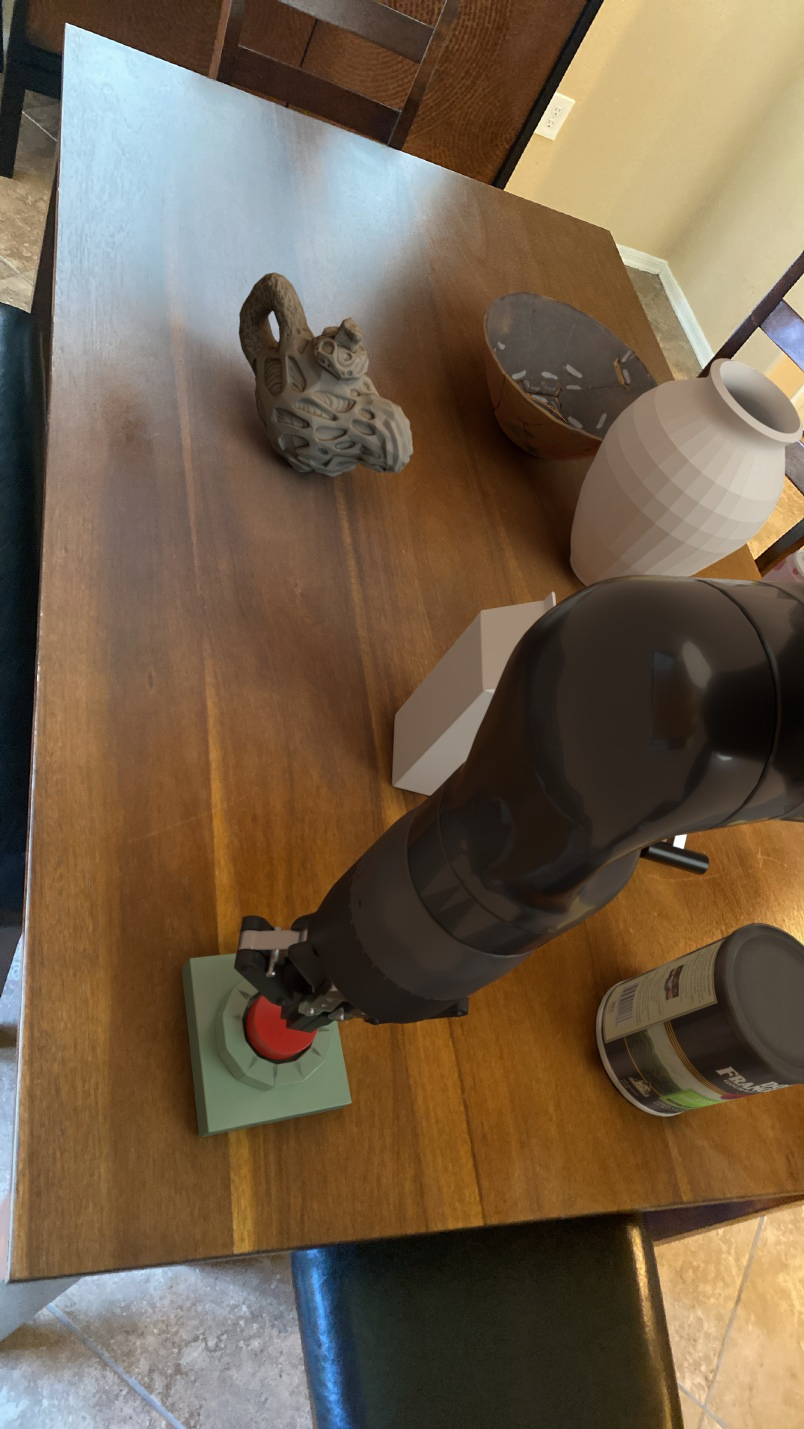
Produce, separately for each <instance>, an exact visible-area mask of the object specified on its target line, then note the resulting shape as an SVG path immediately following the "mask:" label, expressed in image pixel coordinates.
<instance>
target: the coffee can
mask: <svg viewBox="0 0 804 1429" xmlns="http://www.w3.org/2000/svg"><path fill="white" fill-rule="evenodd" d="M595 1037H596V1045H597V1046H596V1047H597V1048H598V1053H599V1055H600V1060H601V1062H602V1064H603V1067H604V1069H605V1071H606V1073H607V1075H608V1077H609V1079H610V1080H611V1082H612V1083H613V1086H615V1087H616V1089H617V1090H618V1092H619V1093H620V1094H621V1095H622V1096H623V1097H624V1098H625V1099H626V1100H627V1101H629V1103H631V1104H632V1105H634V1106H635V1107H636V1108H638V1109H639V1110H642V1111H643V1112H645V1113H647V1114H650V1115H654V1116H658V1117H673V1116H676V1115H679V1114H681V1113H683V1112H689V1111H693V1110H697V1109H700V1108H704V1107H709V1106H713V1105H717V1104H721V1103H725V1102H726V1103H727V1102H728V1101H734V1100H737V1099H742V1098H746V1097H751V1096H755V1095H758V1094H762V1093H768V1092H772V1091H775V1090H780V1089H784V1088H788V1087H792V1086H796V1085H804V944H803V943H802V942H801V941H800V940H798V939H797V938H796V937H795V936H793V935H792V934H790V932H787V931H786V930H784V929H782V928H780V927H778V926H775V925H773V924H768V923H764V922H752V923H748V924H745V925H743V926H740V927H739V928H736V929H734V930H733V931H732V932H730V934H728V935H726V936H724V937H721V938H719V939H717V940H714V941H712V942H710V943H707V944H705V945H703V946H701V947H698V948H697V949H694V950H692V951H690V952H687V953H685V954H682V955H680V956H679V957H676V958H674V959H671V960H669V961H667V962H665V963H662V964H660V965H659V966H656V967H653V968H652V969H648V970H647V971H645V972H642V973H640V974H637V975H636V976H633V977H631V978H627V979H625V980H622V981H619V982H617V983H616V984H614V985H613V986H612V987H610V988H609V989H608V990H607V991H606V993H605V994H604V995H603V996H602V999H601V1002H600V1004H599V1006H598V1009H597V1014H596V1020H595Z"/></svg>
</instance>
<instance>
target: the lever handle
mask: <svg viewBox="0 0 804 1429" xmlns="http://www.w3.org/2000/svg"><path fill="white" fill-rule="evenodd" d="M687 837H688V834H686V835H679V836H674V837H671V838H668V839H667V840H666V842H664V841H660V842H657V843H655V844H652V845H650V846H647V847H645V848H643V849H641V853H640V856H639V859H643V860H646V861H649V862H653V863H656V864H661V865H663V866H666V867H670V868H673V869H678V870H681V871H684V872H686V873H689V874H694V875H697V876H702V875H705V873H706V872H707V871H708V870H709V867H710V859H709V857H708V855H707V854H706V853H704V852H700V851H696V850H694V849H691V848H687V847H685V845H686V840H687Z"/></svg>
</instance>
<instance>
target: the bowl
mask: <svg viewBox="0 0 804 1429" xmlns="http://www.w3.org/2000/svg"><path fill="white" fill-rule="evenodd" d="M481 329H482V341H483V342H482V344H483V349H484V350H483V351H484V360H485V368H486V379H487V385H488V391H489V394H490V400H491V403H492V406H493V407H492V408H493V412H494V416H495V418H496V421H497V423H498V424H499V427H500V428H501V431H502V432H503V433H504V434H505V435H506V437H507V438H508V439H509V440H510V441H511V442H512V443H513V444H515V445H516V446H517V447H518V448H520V449H521V450H523V451H524V452H526V453H528V454H530V455H532V456H534V457H537V458H539V459H541V460H545V461H550V462H561V463H564V462H565V463H566V462H574V461H580V460H584V459H590V458H595V456H596V454H597V452H598V450H599V448H600V446H601V444H602V442H603V440H604V438H605V436H606V434H607V432H608V430H609V428H610V426H611V425H612V424H613V423H614V421H615V420H616V419H617V418H618V416H619V415H620V414H621V413H622V412H623V411H624V410H625V409H626V408H627V407H628V406H629V405H631V404H632V403H633V402H634V401H635V400H636V399H637V398H639V397H640V396H641V395H642V394H644V393H645V392H647V391H649V390H651V389H653V388H655V387H657V386H659V385H658V383H657V381H656V380H655V377H654V376H653V375H652V374H651V372H650V371H649V369H648V368H647V366H646V365H645V363H644V362H643V361H642V359H641V358H640V356H638V355H637V353H636V351H635V350H634V349H632V348H631V346H630V345H628V344H627V343H626V342H625V341H624V340H623V339H622V338H620V336H618V335H617V334H616V333H615V332H614V331H613V330H612V329H610V328H609V327H607V326H606V325H604V324H603V323H602V322H600V320H598V319H596V318H595V317H594V316H592V315H590V314H588V313H586V312H583V311H582V310H581V309H578V308H576V307H575V306H573V305H571V304H569V303H566V302H564V301H561V300H558V299H555V298H553V297H550V296H546V295H543V294H540V293H534V292H529V291H517V292H510V293H505V294H501V295H498V296H496V297H495V298H493V299H492V300H491V301H490V302H489V304H488V305H487V307H486V309H485V312H484V315H483V319H482V328H481ZM618 366H619V370H620V374H621V376H622V379H623V380H624V381H623V383H622V380H621V377H620V375H619V371H618V370H617V368H618ZM526 393H529V395H530V396H532V397H534V398H536V399H538V400H540V401H542V402H544V403H547V405H550V406H552V407H553V409H554V410H555V409H556V411H558V412H559V413H560V414H561V415H562V417H563V418H564V419H565V421H566V422H567V423H566V422H565V421H564V420H563V418H561V417H560V416H559V415H558V414H557V413H556V412H554V411H553V410H552V409H550V408H549V407H547V406H546V405H544V404H542V403H540V402H538V401H536V400H533V399H531V398H529V397H528V396H527V394H526ZM552 407H551V408H552Z"/></svg>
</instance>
